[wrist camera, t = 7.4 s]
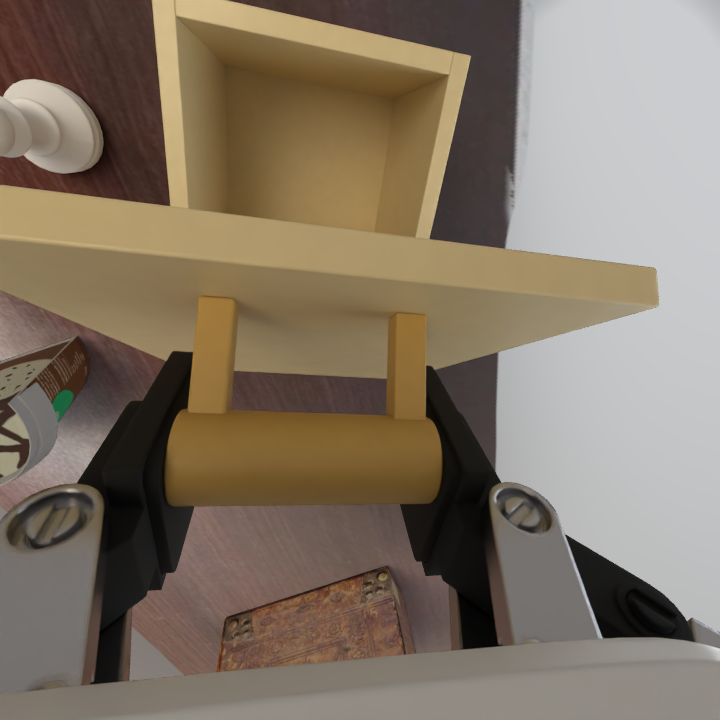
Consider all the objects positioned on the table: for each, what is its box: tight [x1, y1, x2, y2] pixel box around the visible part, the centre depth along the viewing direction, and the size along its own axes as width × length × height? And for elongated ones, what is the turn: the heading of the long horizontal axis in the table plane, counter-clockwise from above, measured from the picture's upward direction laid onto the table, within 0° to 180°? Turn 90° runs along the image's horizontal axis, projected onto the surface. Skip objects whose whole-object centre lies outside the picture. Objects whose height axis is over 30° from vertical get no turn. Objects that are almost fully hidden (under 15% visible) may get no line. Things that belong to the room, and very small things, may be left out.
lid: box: [0, 185, 659, 507], centre depth 14 cm, size 16×13×5 cm
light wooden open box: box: [152, 0, 471, 239], centre depth 24 cm, size 16×13×12 cm
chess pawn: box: [0, 79, 104, 174], centre depth 21 cm, size 5×5×9 cm
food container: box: [0, 336, 90, 486], centre depth 29 cm, size 12×6×10 cm, turn 106°
